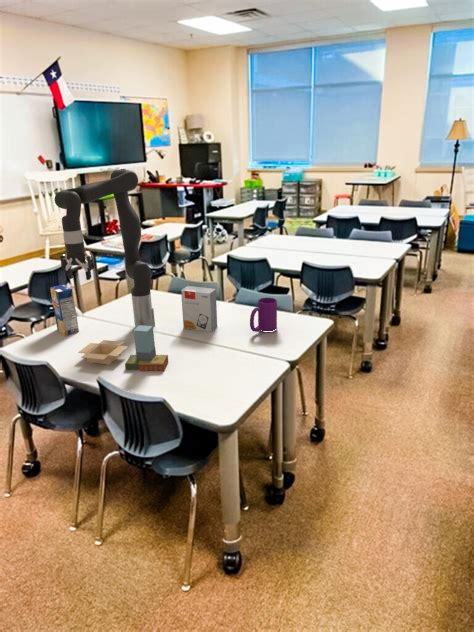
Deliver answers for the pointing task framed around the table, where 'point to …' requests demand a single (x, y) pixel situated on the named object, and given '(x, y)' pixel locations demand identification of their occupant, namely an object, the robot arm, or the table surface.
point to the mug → (265, 315)
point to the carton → (147, 363)
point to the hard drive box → (199, 308)
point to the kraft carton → (103, 351)
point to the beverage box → (64, 309)
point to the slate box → (144, 343)
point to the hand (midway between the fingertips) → (79, 279)
